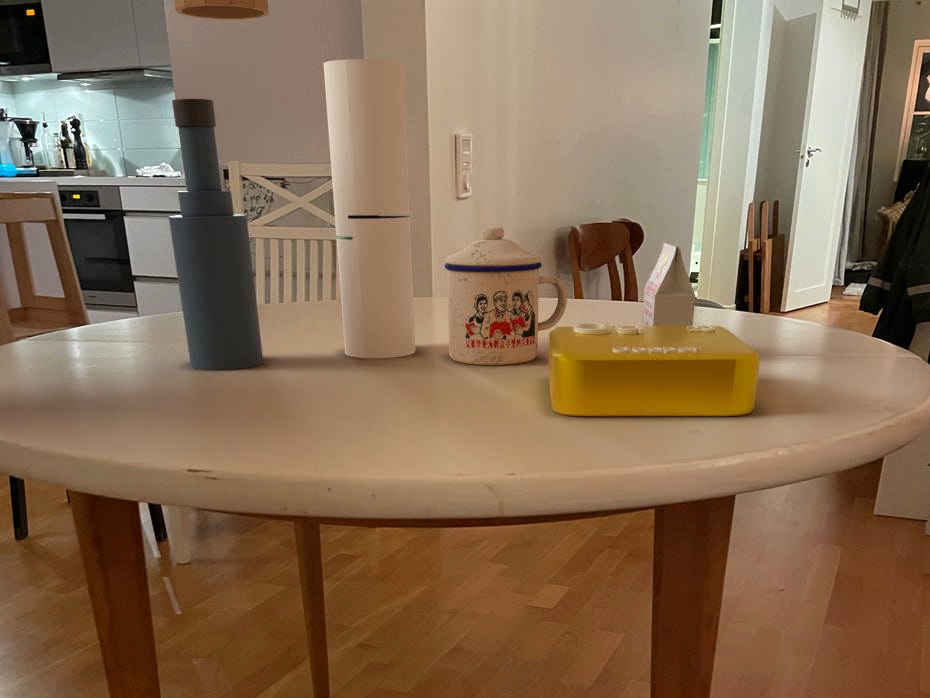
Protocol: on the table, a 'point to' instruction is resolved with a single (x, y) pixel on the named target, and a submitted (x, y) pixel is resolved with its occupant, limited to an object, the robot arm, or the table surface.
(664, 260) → the milk carton
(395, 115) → the cylindrical container
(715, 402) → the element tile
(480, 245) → the teacup with lid
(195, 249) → the water bottle
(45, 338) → the table surface
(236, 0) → the light wood cylinder
